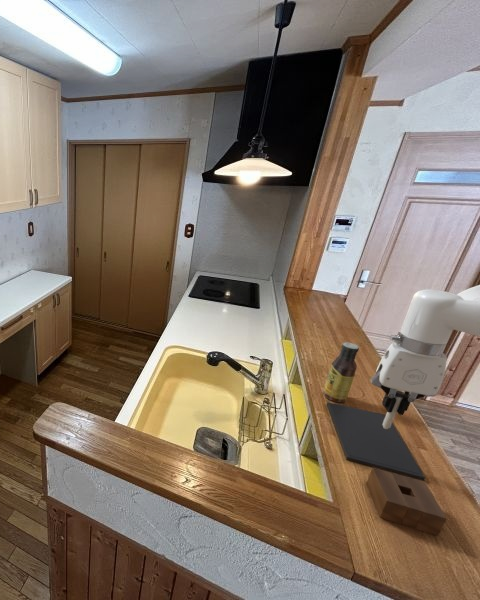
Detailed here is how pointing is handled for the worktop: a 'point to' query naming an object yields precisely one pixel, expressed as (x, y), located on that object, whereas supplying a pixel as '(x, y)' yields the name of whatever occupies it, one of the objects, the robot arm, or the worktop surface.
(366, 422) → the plate
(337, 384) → the sauce bottle
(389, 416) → the white thin cylinder
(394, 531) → the worktop surface
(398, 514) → the pen stand
